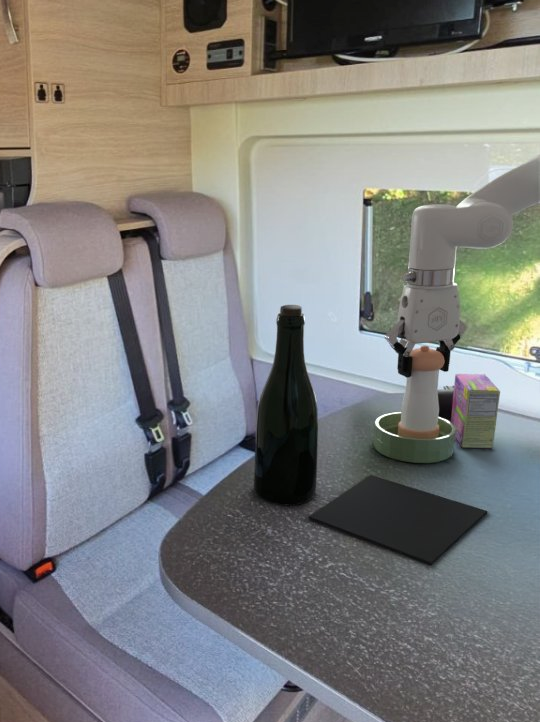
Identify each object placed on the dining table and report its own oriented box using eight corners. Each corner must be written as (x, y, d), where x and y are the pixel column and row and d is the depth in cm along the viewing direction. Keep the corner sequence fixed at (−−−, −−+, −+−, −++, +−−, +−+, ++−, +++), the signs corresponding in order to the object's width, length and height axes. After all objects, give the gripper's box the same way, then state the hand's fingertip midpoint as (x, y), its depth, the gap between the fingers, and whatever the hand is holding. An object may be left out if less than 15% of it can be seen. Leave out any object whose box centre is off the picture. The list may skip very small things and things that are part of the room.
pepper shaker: (434, 435, 141) (442, 340, 134) (441, 450, 134) (450, 351, 127) (394, 434, 142) (401, 340, 136) (399, 449, 136) (406, 351, 129)
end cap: (417, 425, 150) (420, 394, 147) (409, 412, 156) (412, 383, 154) (468, 425, 148) (472, 394, 146) (458, 412, 155) (461, 383, 153)
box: (448, 427, 148) (455, 373, 144) (478, 428, 146) (486, 373, 142) (460, 448, 138) (467, 390, 134) (492, 449, 137) (501, 391, 133)
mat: (487, 513, 115) (487, 510, 115) (431, 565, 102) (431, 562, 102) (370, 477, 129) (371, 474, 128) (308, 518, 116) (308, 516, 116)
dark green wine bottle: (315, 481, 128) (325, 298, 117) (315, 509, 119) (326, 314, 107) (256, 477, 131) (259, 298, 119) (251, 504, 121) (255, 313, 110)
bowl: (465, 447, 138) (468, 423, 137) (432, 471, 129) (435, 446, 128) (395, 429, 148) (397, 406, 146) (359, 451, 139) (361, 427, 138)
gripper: (399, 286, 122) (392, 385, 128) (488, 275, 125) (477, 371, 132) (374, 279, 129) (369, 373, 135) (459, 268, 132) (450, 361, 138)
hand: (423, 371), depth 133 cm, fingers closed on pepper shaker, 7 cm apart
